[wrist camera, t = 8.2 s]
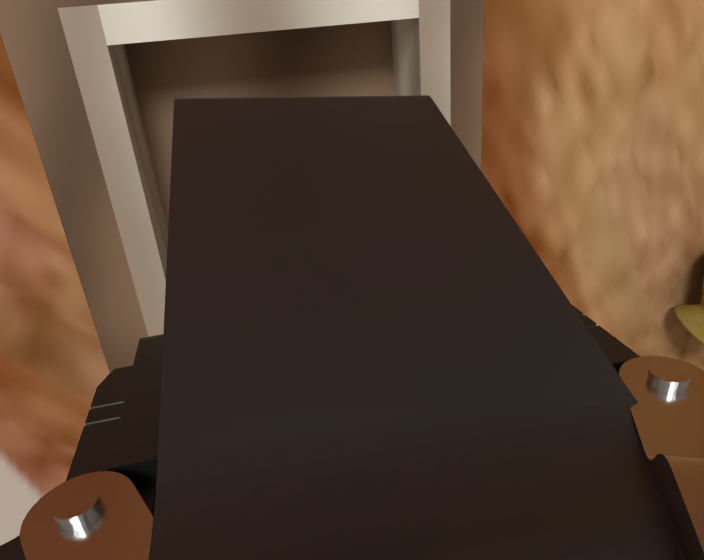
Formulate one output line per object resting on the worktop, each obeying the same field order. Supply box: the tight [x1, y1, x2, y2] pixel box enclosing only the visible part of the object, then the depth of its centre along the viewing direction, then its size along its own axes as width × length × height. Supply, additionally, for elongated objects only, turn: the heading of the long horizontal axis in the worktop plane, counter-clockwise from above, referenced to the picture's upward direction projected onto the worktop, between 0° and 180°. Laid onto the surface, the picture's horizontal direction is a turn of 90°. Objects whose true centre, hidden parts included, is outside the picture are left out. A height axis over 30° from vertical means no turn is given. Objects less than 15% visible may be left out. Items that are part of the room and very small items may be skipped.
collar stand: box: [0, 0, 484, 373], centre depth 20 cm, size 16×18×4 cm
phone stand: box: [148, 95, 685, 560], centre depth 10 cm, size 9×6×12 cm, turn 179°
